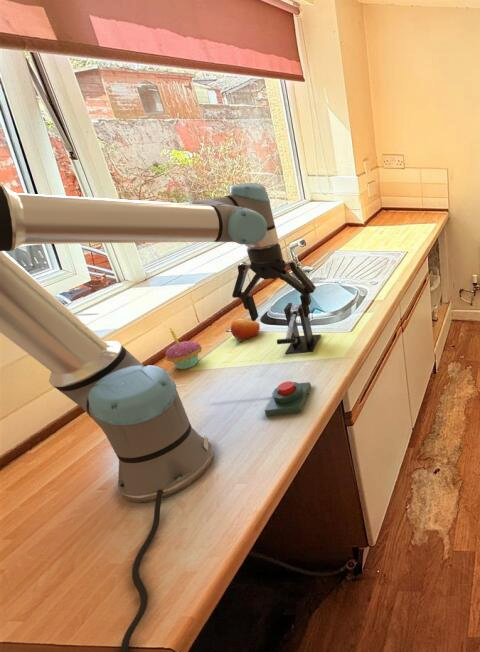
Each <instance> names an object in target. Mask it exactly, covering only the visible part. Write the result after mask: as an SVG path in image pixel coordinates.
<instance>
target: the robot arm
mask: <svg viewBox="0 0 480 652" xmlns="http://www.w3.org/2000/svg"><path fill="white" fill-rule="evenodd" d="M131 243H132V244H133V243H134V244H137V243H138V244H139V243H140V244H143V243H144V244H145V243H146V244H147V243H235V244H238V245H245V246H246V247H247V248H246V252H247V256H248V260H249V262H250V263H247V262H245V261H242V262H241V263H240V264H238V265H237V273H238V274H237V277H236V280H235V285H234V287H233V291H232V295H231V296H232V298H234V299H236V298H238V299H241V302H242V305H243V308H244V309H245V310H248V314H249V317H250V319H251V320H252V321H256V320H257V319H258V318H259V313H258V310H257V305H256V302H255V299H254V296H253V295H251V293H252V291H253V290H254V288H255V287H256V286H257V284H258V282H259V281H260V280H261V279H263V280H264V281H265V280H271V279H272V280H277V279H280V280H281V281H283V282H284V283H286V284H288V285H289V286H290V287H292V288H293V289H295V290H296V291H297V292H298V293H299V294H300V295H299V299H300V304H301V303H302V308H303V312H304V316H305V317H308V316H309V315H310V314H311V309H310V306H311V303H312V298H311V294H313V293H314V292H315V290H316V289H317V287H316V285H315V284H314V283H313V282H312V281H311V279H310V278H309V277H308V276H307V275H306V273H305V272H304V271H303V269H301V267H300V265H299V262H298V260H297V259H291V260H290V261H285V260H284V257H283V253H282V252H283V251H282V247H281V244H280V243H279V236H278V232H277V228H276V224H275V220H274V215H273V211H272V207H271V200H270V198H269V195H268V192H267V189H266V187H265V186H264V185H263V184H261V183H258V182H243V183H242V182H241V183H236V184H232V185H231V186H230V187H229V194H228V195H224V196H219V197H212V198H205V199H204V198H203V199H199V200H189V201H186V202H181V203H180V202H165V201H149V200H135V199H133V200H131V199H118V198H102V197H101V198H100V197H84V196H69V195H68V196H67V195H51V194H36V193H35V194H34V193H20V192H14V191H12V190H11V189H9V188H8V187H6V186H5V185H3V184H0V334H2V335H3V336H4V337H6V339H8V340H10V341H11V342H12V343H13V344H15V345H16V346H17V347H19V348H20V349H21V350H22V351H23V352H25V353H26V354H27V355H29V356H30V357H32V358H33V359H34V360H36V361H37V362H38V363H39V364H41V365H42V366H44V368H46V369H48V370H49V371H50V375H49V379H48V382H49V384H50V385H51V386H52V387H53V388H55V389H56V390H57V391H59V392H61V394H63V395H65V396H66V397H67V398H69V399H70V400H71V401H73V402H74V403H75V404H76V405H78V407H80V408H81V409H82V410H83V411H84V412H85V413H86V414H87V415H88V416H89V417H90V418H91V419H92V420H93V421H94V423H96V424H97V425H98V426H99V428H100V429H101V430H102V432H103V434H104V435H105V436H106V438H107V440H108V442H109V444H110V446H111V447H112V450H113V452H114V453H115V455H116V457H117V459H118V477H117V479H118V480H117V489H118V490H119V492H120V494H121V496H122V497H123V498H124V499H125V500H126V501H128V502H131V503H137V504H139V503H141V504H142V503H143V504H144V503H150V502H154V501H155V502H154V503H155V504H154V511H153V522H152V525H151V529H150V531H149V533H148V535H147V537H146V539H145V540H144V543H143V544H142V546H141V548H140V550H138V553H137V554H136V557H135V559H134V561H133V564H132V565H133V566H132V570H131V577H132V582H133V585H134V587H135V588H136V591H137V592H138V596H139V598H140V599H139V600H140V603H139V608H138V610H137V614H135V616H134V618H133V620H132V621H131V623H130V624H129V626H128V628H127V629H126V631H125V633H124V636H123V637H122V641H121V646H120V652H129V649H130V640H131V639H132V635H133V633H134V631H135V629H136V628H137V627H138V624H139V623H140V622H141V620H142V618H143V616H144V615H145V613H146V610H147V606H148V591H147V589H146V587H145V585H144V583H143V581H142V579H141V577H140V566H141V563H142V559H143V557H144V555H145V553H146V551H147V549H148V548H149V546H150V544H151V542H152V541H153V539H154V537H155V535H156V532H157V530H158V527H159V523H160V517H161V506H162V500H163V499H165V498H167V497H170V496H172V495H174V494H177V493H178V492H181V491H183V490H184V489H185V488H187V487H189V486H191V485H192V484H193V483H194V482H196V481H197V480H199V478H201V477H202V476H203V475H204V474H205V473H206V472H207V471H208V469H209V468H210V466H211V464H212V462H213V460H214V455H215V453H214V450H213V447H212V444H211V443H210V441H209V437H207V436H206V435H203V436H201V435H200V434H199V433H198V432H197V431H196V430H195V429H194V428H193V427H192V424H191V422H190V419H189V416H188V415H187V412H186V409H185V407H184V405H183V402H182V400H181V397H180V395H179V392H178V390H177V384H176V382H175V381H174V379H173V377H172V376H171V374H170V373H169V372H168V371H167V370H166V369H164V368H162V367H160V366H157V365H150V364H148V365H146V366H145V365H144V364H143V363H142V362H140V361H139V360H138V359H137V357H135V356H134V355H133V354H132V353H130V351H129V350H127V349H126V347H124V346H123V345H122V344H121V343H120V342H118V341H116V340H103V339H102V338H101V337H100V336H99V335H97V334H96V333H95V332H94V331H93V330H92V329H91V328H90V327H88V326H87V325H86V324H85V323H84V322H83V321H82V320H81V319H80V318H79V317H78V316H77V315H75V314H74V313H73V312H72V311H71V310H70V309H68V307H67V306H66V305H64V304H63V303H62V302H61V301H60V300H59V299H58V298H57V297H56V296H55V295H53V294H52V292H50V291H49V290H48V289H47V288H46V287H44V286H43V285H42V284H41V283H40V282H39V281H38V280H37V279H36V278H35V277H34V276H32V275H31V274H30V273H29V272H28V271H27V270H26V269H25V268H24V267H23V266H21V265H20V264H19V263H18V262H17V261H16V260H15V259H13V258H12V257H11V256H10V255H9V254H8V253H7V252H13V251H14V250H16V249H18V248H19V247H20V246H22V245H52V244H53V245H54V244H55V245H59V244H61V245H62V244H64V245H66V244H67V245H68V244H69V245H70V244H71V245H72V244H131ZM286 268H287V269H288V270H291V272H292V274H293V275H294V276H295V277H296V278H295V277H294V276H293V275H292V274H290V272H289V271H288V270H287V269H286ZM250 270H251V271H252V272H253V273H254V276H253V277H252V279H251V281H250V282H249V283H248V285H247V286H246V288H245V289H244V291H243V287H244V284H245V281H246V278H247V274H248V272H249V271H250ZM309 317H310V316H309Z"/></svg>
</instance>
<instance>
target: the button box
mask: <svg viewBox="0 0 480 652" xmlns="http://www.w3.org/2000/svg"><path fill="white" fill-rule="evenodd" d="M292 382H293V383H294V387H295V391H294V392H292V393H291V394H288V395H280V394H279V390H278V386H279V385H280V384H278V386H277V387H276V388H274V389H273V391H272V393H271V394H272V396H271V398H270V399H269V401H268V403H267V405H266V407H265V409H264V412H265V416H266V418H270V417H279V416H288V415H289V416H290V415H296V414H302V412H303V410H304V408H305V405H306V402H307V401H308V398H309V396H310V391H311V388H312V385H311V382H310V381H309V382H297V381H292Z"/></svg>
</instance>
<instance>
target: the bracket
mask: <svg viewBox="0 0 480 652" xmlns="http://www.w3.org/2000/svg"><path fill="white" fill-rule="evenodd" d="M292 305H293V303H292V302H288V303H287V304H286V306H285V307H284V308H283V311H284V316H285V320H286V324H287V327H289V324H290V321H291V317H292V315H291V313H290V310H291V307H292ZM299 305H300V306H299V308H298V310H299V315H300V316H299V319H300V323H301V328H302V331H303V335H300V332H299V328H298V324H297V320H296V321H295V325H294V328H293V332H292V335H291V338H297V343H289V344H290V345H289V346H288V347H287V349H286V351H285V352H284V353H285V354H284V355H292V354H293V355H294V354H302V353H313V352H314V351H315V349H316V347H317V345H318V342H319V341H320V338H321V336H322V335H321V333H320V334H313V330H312V326H311V320H310V316H308V317H305V316H304V312H303V308H302V303H301V302H300V304H299Z"/></svg>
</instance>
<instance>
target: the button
mask: <svg viewBox="0 0 480 652" xmlns="http://www.w3.org/2000/svg"><path fill="white" fill-rule="evenodd" d="M293 382H294V381H291V380H290V381H284V382H281V383H280V384H278V385H279V386H277V387H278V390H279V394H280V395H288V394H291V393H292V392H294V391H295V387H294V383H293Z"/></svg>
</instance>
